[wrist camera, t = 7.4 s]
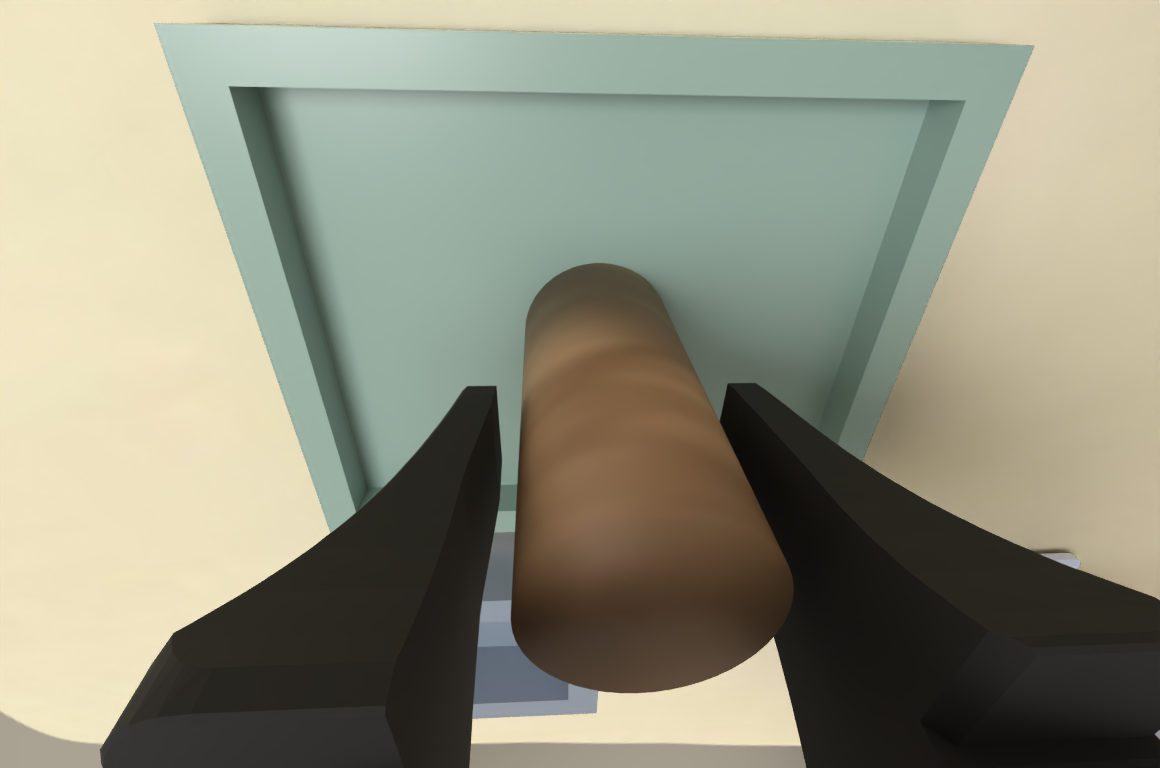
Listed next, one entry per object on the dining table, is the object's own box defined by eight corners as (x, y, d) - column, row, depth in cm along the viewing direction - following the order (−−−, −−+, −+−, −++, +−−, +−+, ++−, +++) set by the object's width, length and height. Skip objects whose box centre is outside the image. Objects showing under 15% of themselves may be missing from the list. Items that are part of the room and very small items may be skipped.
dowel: (676, 265, 14) (830, 511, 7) (657, 391, 16) (757, 688, 9) (524, 260, 14) (507, 515, 6) (525, 390, 16) (512, 697, 9)
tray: (975, 42, 12) (1034, 45, 11) (814, 486, 20) (835, 523, 19) (205, 23, 11) (153, 23, 10) (348, 496, 19) (331, 536, 18)
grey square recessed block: (598, 528, 21) (605, 597, 18) (591, 644, 25) (596, 713, 23) (387, 533, 20) (364, 605, 18) (417, 651, 25) (403, 721, 22)
